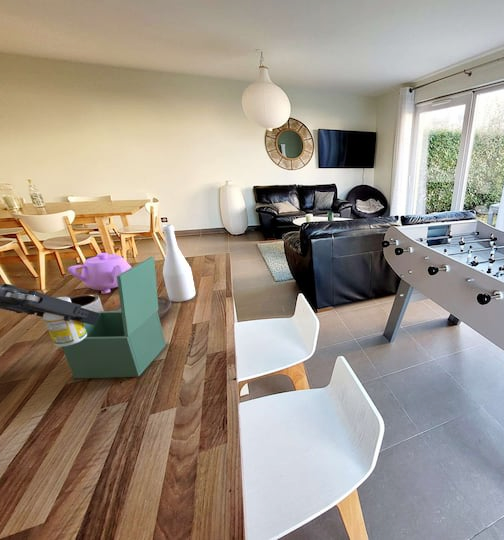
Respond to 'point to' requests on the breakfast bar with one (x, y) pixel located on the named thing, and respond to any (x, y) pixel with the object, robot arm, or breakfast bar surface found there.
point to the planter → (88, 302)
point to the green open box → (115, 348)
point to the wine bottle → (176, 270)
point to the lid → (137, 294)
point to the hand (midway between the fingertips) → (83, 317)
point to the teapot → (101, 271)
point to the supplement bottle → (64, 328)
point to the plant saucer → (162, 306)
